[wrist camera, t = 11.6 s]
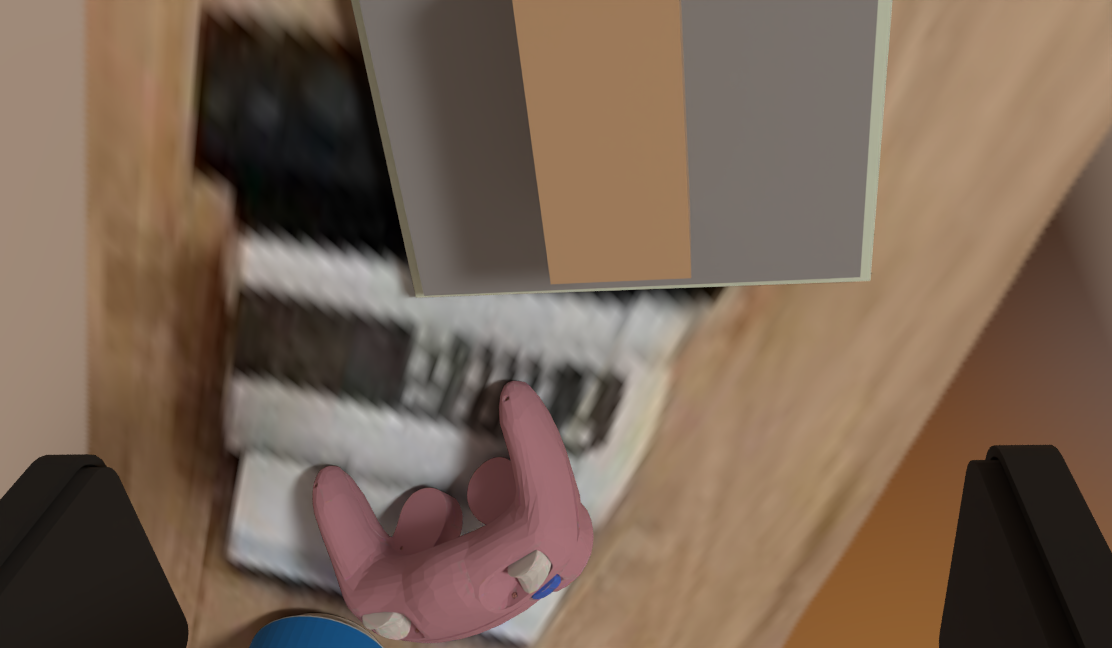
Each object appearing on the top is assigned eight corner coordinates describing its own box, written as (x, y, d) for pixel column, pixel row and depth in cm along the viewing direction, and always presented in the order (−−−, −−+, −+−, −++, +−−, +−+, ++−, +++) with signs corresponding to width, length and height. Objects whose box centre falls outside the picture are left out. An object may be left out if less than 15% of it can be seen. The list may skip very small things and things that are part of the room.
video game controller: (382, 500, 38) (389, 678, 34) (300, 466, 35) (297, 658, 31) (590, 411, 34) (625, 598, 30) (520, 362, 31) (549, 565, 27)
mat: (312, -201, 23) (307, -200, 23) (910, -275, 21) (914, -275, 21) (418, 290, 30) (416, 297, 30) (868, 274, 28) (870, 280, 28)
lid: (330, -180, 23) (255, -158, 19) (887, -250, 21) (935, -243, 17) (429, 282, 30) (390, 370, 26) (855, 263, 28) (885, 355, 24)
